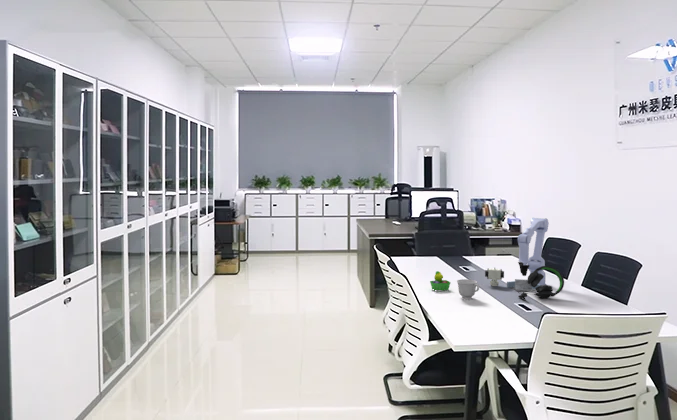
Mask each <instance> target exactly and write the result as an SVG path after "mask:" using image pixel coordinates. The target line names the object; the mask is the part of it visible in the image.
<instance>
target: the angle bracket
mask: <svg viewBox="0 0 677 420" xmlns="http://www.w3.org/2000/svg"><path fill="white" fill-rule="evenodd" d="M527 280H528V279H522V278H521V279H517V278H516V279H514V281H515V290H514V291H517V292H520V291H530V292H534V291H533V289H532V286H531V283H530V284H528V283H527Z"/></svg>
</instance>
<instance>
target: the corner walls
mask: <svg viewBox="0 0 677 420" xmlns="http://www.w3.org/2000/svg"><path fill="white" fill-rule="evenodd" d="M539 286H542V285H539V284H538V285H537V286H536V287H532V289H534V290H536V288H537V287H539ZM506 287H507V288H509V289H510V288H512V287H515V280H512V281H511V280H510V281H506Z"/></svg>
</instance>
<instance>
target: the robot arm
mask: <svg viewBox="0 0 677 420" xmlns="http://www.w3.org/2000/svg"><path fill="white" fill-rule="evenodd" d="M549 225H550V224H549V220H548V218H539V217H532V218H531V220H530V225H529V227H527V228H525V230H524V231H523V233H521V234H519V235H518V236H517V244H518V247H519V248H518V249H519V250H518V262H517V263H518V265H519V269H520V270H519V272H520V274H521V276H523V277H526V276H527V274H528V271H529V275H530V274H531V273H532V272H534V271H535V270H536V269H537V268H539V267H542V266H546V265H545V264H546V260H545V259H544V258H543V257H542V253H543V246H544V240H545V234H546V232H548V230H549ZM535 232H536V237H535V240H534V241H535V243H534V249H533V254H532V256H530V255H529V254H530V253H529V252H530V243H531V242H532V237H533V236H534V234H535ZM529 256H530V257H529ZM544 270H545V269H543V270H539V271H538V273H541V274H542V275H543V276H544V277H543V279H541V281H540V282H539V283H538V284H539V285H541V286H544V285H547V283H546V272H545V271H544Z"/></svg>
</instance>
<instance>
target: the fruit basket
mask: <svg viewBox="0 0 677 420" xmlns="http://www.w3.org/2000/svg"><path fill="white" fill-rule="evenodd" d="M443 278H444V276H443V274H442V273H441V271H439V270H437V271H435V274H434V280H430V281H429V283H430V286H431V290H433V289H434V290H433V291H435V290H441V291H449V289H450V286H451V281H448V280H447V279H443Z"/></svg>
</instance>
